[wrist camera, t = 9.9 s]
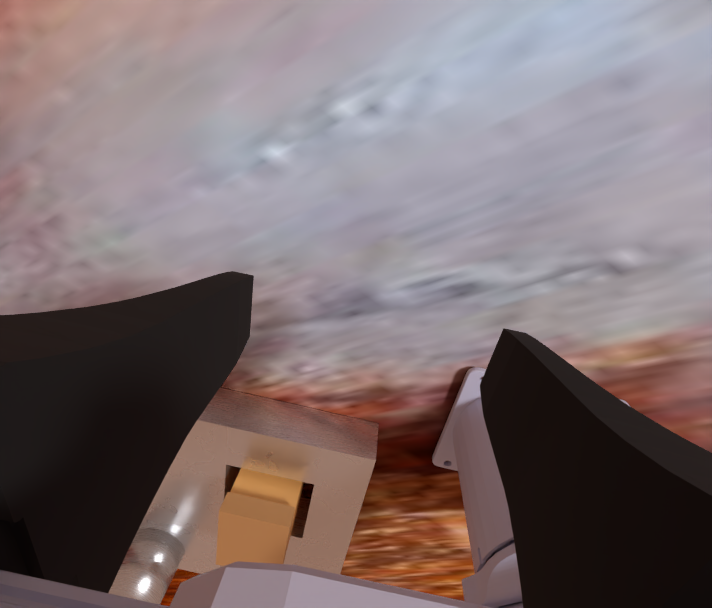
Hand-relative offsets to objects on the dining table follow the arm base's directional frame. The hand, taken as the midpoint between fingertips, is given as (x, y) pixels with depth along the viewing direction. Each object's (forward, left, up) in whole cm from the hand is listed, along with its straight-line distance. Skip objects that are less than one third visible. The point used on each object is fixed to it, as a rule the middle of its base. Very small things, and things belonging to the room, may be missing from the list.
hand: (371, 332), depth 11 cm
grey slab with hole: (+5, +20, -10) cm, 23 cm away
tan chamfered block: (+3, +18, -10) cm, 21 cm away
